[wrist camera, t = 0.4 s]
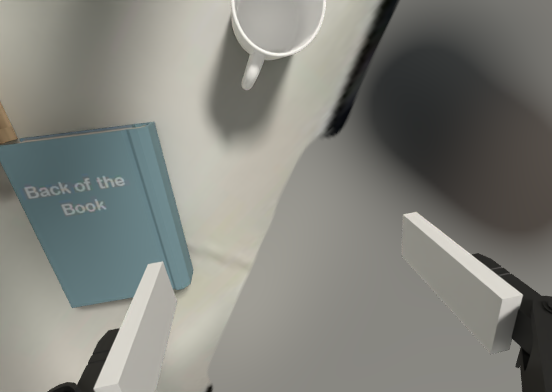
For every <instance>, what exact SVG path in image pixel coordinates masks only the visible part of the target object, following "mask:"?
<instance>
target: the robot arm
mask: <svg viewBox="0 0 552 392" xmlns="http://www.w3.org/2000/svg"><path fill="white" fill-rule="evenodd" d="M402 229H403V230H402V257H403V258H404V259H405V260H406V261H407V262H408V264H409V265H410V266H411V267H412V268H413V269H414V270H415V271H416V272H417V273H418V275H419V276H420V277H421V278H422V279H423V280H424V281H425V282H426V283H427V285H428V286H429V287H430V288H431V289H432V290H433V291H434V292H435V293H436V295H438V297H439V298H440V299H441V300H442V301H443V302H444V303H445V304H446V306H447V307H448V308H449V309H450V310H451V311H452V312H453V313H454V314H455V315H456V317H457V318H458V319H459V320H460V321H461V322H462V323H463V324H464V325H465V327H466V328H467V329H468V330H469V331H470V332H471V333H472V334H473V335H474V336H475V337H476V339H477V340H478V341H479V342H480V343H481V344H482V345H483V346H484V347H485V348H486V350H487V351H488V352H489V353H490V354H494V353H499V352H502V351H507V350H509V349H510V345H511V341H512V339H513V340H514V341H515V342H517V343H518V344H519V345H520V346H521V348H520V352H519V355H518V359H517V363H516V367H517V368H519V367H520V370H521V381H522V392H552V297H550V296H541V295H540V294H538V293H537V292H536V291H534V290H533V289H532V288H530V287H529V286H528V285H526V284H525V283H523V282H522V281H521V280H519V279H518V278H517V277H515V276H514V275H512V274H510V273H509V272H508V271H507V270H506V269H504V268H502V267H501V266H500V265H499V264H497V263H496V262H495V261H493V260H492V259H490V258H488V257H486V256H483V255H481V254H479V253H477V254H472V255H471V254H470V253H468V252H467V251H466V250H465V249H463V248H462V247H460V246H459V245H458V244H457V243H455V242H454V241H453V240H451V239H450V238H449V237H448V236H446V235H445V234H444V233H443V232H441V231H440V230H439V229H437V228H436V227H435V226H434V225H432V224H431V223H430V222H428V221H427V220H426V219H425V218H423V217H422V216H421V215H419V214H418V213H417V212H414V213H409V214H404V215H403V228H402ZM176 305H177V299H176V297H175V294H174V291H173V288H172V285H171V283H170V280H169V277H168V274H167V272H166V269H165V266H164V263H163V261H162V262H157V263H152V264H148V265H147V268H146V270H145V272H144V274H143V277H142V279H141V281H140V284H139V286H138V288H137V290H136V293H135V295H134V297H133V300H132V302H131V304H130V306H129V309H128V311H127V313H126V316H125V318H124V320H123V322H122V325H121V327H120V328H118V329H113V330H109V331H108V332H107V333H106V334H105V335H104V336H103V337H102V338H101V339H100V341H99V342H98V344H97V346H96V348H95V350H94V352H93V355H92V356H91V358H90V360H89V362H88V365H87V366H86V368H85V370H84V372H83V374H82V376H81V378H80V380H79V382H78V384H77V385H76V384H75V383H72V382H66V383H63V384H60V385H58V386H56V387H54V388H52V389H51V390H49V391H48V392H156V388H157V384H158V380H159V376H160V372H161V367H162V363H163V359H164V355H165V351H166V347H167V342H168V338H169V334H170V330H171V326H172V322H173V317H174V313H175V309H176Z"/></svg>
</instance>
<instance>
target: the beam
mask: <svg viewBox="0 0 552 392" xmlns="http://www.w3.org/2000/svg"><path fill="white" fill-rule="evenodd" d="M15 139H18V138H17V136H16V134H15V132H14V130H13V128H12V125H11V123H10V121H9V119H8V117H7V115H6V113H5V111H4V108H3V106H2V104H1V102H0V144H2V143H6V142H9V141H12V140H15Z"/></svg>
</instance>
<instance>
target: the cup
mask: <svg viewBox="0 0 552 392" xmlns="http://www.w3.org/2000/svg"><path fill="white" fill-rule="evenodd" d="M325 8H326V0H231V19H232V27H233V31H234V34H235V36H236V38H237V40H238V42H239V44H240V45H241V46H242V48H243V49H244V50H245V51H246V52H248V53H249V54H250V56H249V59H248V62H247V65H246V69H245V72H244V75H243V79H242V88H243V89H244V90H249V89H251V88H252V86H253V85H254V83H255V81H256V79H257V77H258V75H259V73H260V70H261V68H262V65H263V63H264V60H276V59H279V58H283V57H286V56H290V55H293V54H296V53H298V52H300V51H301V50H303V49H304V48H305V47H307V46H308V45H309V44H310V43H311V42H312V41H313V39H314V38H315V37H316V35H317V33H318V32H319V30H320V28H321V25H322V22H323V19H324V15H325Z"/></svg>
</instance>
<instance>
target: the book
mask: <svg viewBox="0 0 552 392" xmlns="http://www.w3.org/2000/svg"><path fill="white" fill-rule="evenodd" d="M0 162H1V164H2V166H3V168H4V170H5V172H6V174H7V176H8V179H9V181H10V183H11V185H12V187H13V189H14V191H15V193H16V195H17V197H18V199H19V201H20V203H21V205H22V207H23V209H24V211H25V213H26V215H27V217H28V219H29V221H30V223H31V225H32V227H33V229H34V232H35V234H36V236H37V238H38V240H39V242H40V244H41V246H42V248H43V250H44V252H45V254H46V256H47V258H48V260H49V262H50V264H51V266H52V268H53V270H54V272H55V274H56V276H57V278H58V280H59V282H60V284H61V287H62V289H63V291H64V293H65V295H66V297H67V299H68V301H69V303H70V305H71V307H72V308H74V307H80V306H86V305H92V304H98V303H103V302H109V301H115V300H121V299H127V298H133V297H134V295H135V293H136V290H137V288H138V286H139V284H140V281H141V279H142V277H143V274H144V272H145V270H146V268H147V265H148V264H152V263H157V262H162V261H163V263H164V266H165V269H166V272H167V274H168V277H169V280H170V283H171V285H172V288H173V289H176V290H179V289H184V288H185V287H187V286H188V285H189V284H191V279H192V274H193V267H192V263H191V259H190V255H189V252H188V248H187V244H186V240H185V236H184V233H183V229H182V225H181V221H180V217H179V214H178V210H177V206H176V202H175V198H174V195H173V191H172V187H171V183H170V179H169V176H168V172H167V168H166V164H165V160H164V157H163V153H162V149H161V145H160V141H159V137H158V134H157V130H156V126H155V122H149V123H141V124H133V125H125V126H117V127H109V128H101V129H93V130H85V131H77V132H69V133H61V134H53V135H45V136H37V137H29V138H21V139H20V142H19V143H16V144H8V145H0Z"/></svg>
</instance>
